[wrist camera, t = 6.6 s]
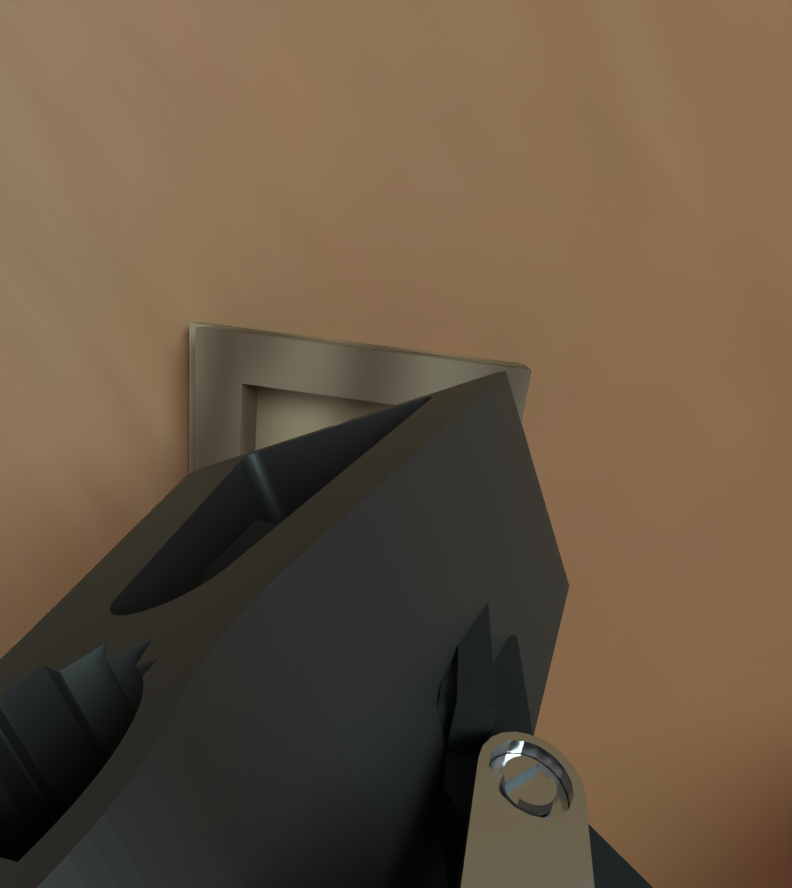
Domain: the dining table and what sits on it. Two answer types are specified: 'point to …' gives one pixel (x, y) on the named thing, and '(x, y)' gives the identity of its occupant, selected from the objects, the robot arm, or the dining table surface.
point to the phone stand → (280, 661)
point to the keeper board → (306, 385)
